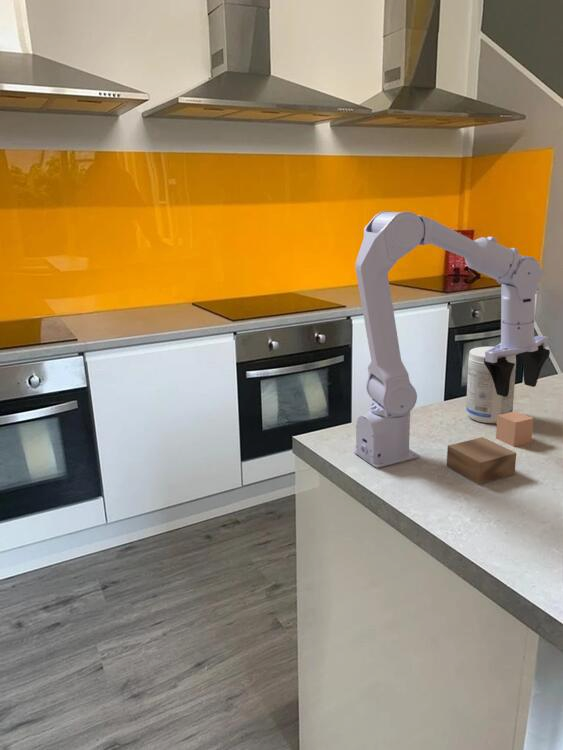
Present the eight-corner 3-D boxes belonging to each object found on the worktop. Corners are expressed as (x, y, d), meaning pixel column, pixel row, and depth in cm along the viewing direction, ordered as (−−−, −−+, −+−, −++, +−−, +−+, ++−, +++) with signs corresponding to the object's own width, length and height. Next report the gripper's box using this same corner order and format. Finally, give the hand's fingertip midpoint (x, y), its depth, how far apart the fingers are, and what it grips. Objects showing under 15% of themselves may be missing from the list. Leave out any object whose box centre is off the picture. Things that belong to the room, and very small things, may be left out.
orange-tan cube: (513, 447, 111) (515, 422, 110) (495, 438, 115) (497, 415, 114) (531, 442, 113) (533, 418, 112) (513, 434, 117) (515, 411, 116)
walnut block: (478, 484, 97) (480, 462, 96) (446, 466, 104) (447, 445, 103) (514, 474, 100) (516, 452, 99) (481, 457, 107) (482, 437, 106)
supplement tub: (501, 408, 132) (506, 345, 127) (519, 423, 122) (525, 355, 118) (458, 410, 131) (462, 347, 127) (474, 426, 122) (478, 358, 118)
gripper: (507, 332, 101) (506, 405, 105) (563, 316, 107) (560, 386, 111) (476, 326, 107) (476, 395, 111) (530, 311, 113) (529, 377, 117)
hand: (516, 390), depth 112 cm, fingers open, 7 cm apart
